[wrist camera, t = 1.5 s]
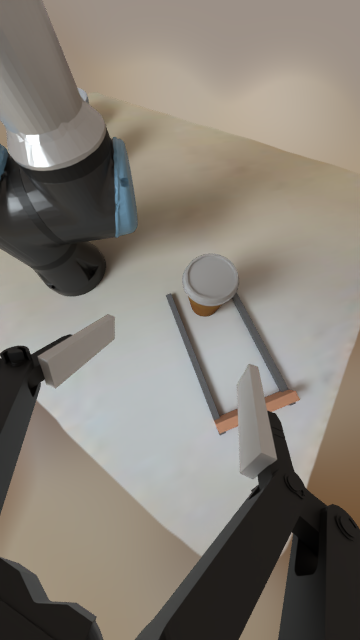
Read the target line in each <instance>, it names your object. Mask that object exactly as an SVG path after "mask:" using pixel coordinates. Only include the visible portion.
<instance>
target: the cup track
mask: <svg viewBox="0 0 360 640" xmlns="http://www.w3.org/2000/svg"><path fill="white" fill-rule="evenodd" d="M166 297H167V299H168V302H169V305H170V307H171V310H172V312H173V315H174V318H175V320H176V323H177V325H178V328H179V331H180V333H181V336H182V338H183V341H184V344H185V346H186V349H187V351H188V354H189V357H190V359H191V362H192V364H193V367H194V370H195V372H196V375H197V377H198V380H199V383H200V385H201V388H202V390H203V393H204V396H205V398H206V401H207V403H208V406H209V409H210V411H211V414H212V416H213V419H214V422H215V424H216V427H217V430H218V432H219V434H220V435H222V434H224V433H226V432H225V431H227V430H230V429H232V428H234V427H237V426H238V409H236V410H234V411H231V412H229V413H226V414H224V415H222V416H219V414H218V411H217V409H216V406H215V404H214V401H213V399H212V396H211V394H210V391H209V389H208V386H207V384H206V381H205V379H204V376H203V373H202V371H201V368H200V366H199V363H198V361H197V358H196V356H195V353H194V351H193V348H192V346H191V343H190V341H189V338H188V336H187V333H186V331H185V328H184V325H183V323H182V320H181V318H180V315H179V313H178V310H177V308H176V305H175V303H174V300H173V298H172V295H171V293H170V294H168V295H166ZM232 299H233V301H234V303H235V305H236V307H237V309H238V311H239V313H240V315H241V317H242V319H243V321H244V323H245V324H246V326H247V328H248V330H249V332H250V334H251V336H252V338H253V340H254V342H255V344H256V346H257V348H258V350H259V351H260V353H261V355H262V357H263V359H264V361H265V363H266V365H267V367H268V369H269V371H270V373H271V375H272V376H273V378H274V380H275V382H276V384H277V386H278V388H279V390H280V391H279V392H277V393H275V394H272V395H270V396H267V397H265V403H266V408H267V411H270V412H272V411H275V410H277V409H279V408H282V407H284V406H286V405H290V406H291V405H293V404H295V403H296V401H298V400H300V399H299V397H298V395H297V393H296V391H293V390H289V389H288V387H287V385H286V384H285V382H284V380H283V378H282V376H281V374H280V372H279V371H278V369H277V367H276V365H275V363H274V361H273V359H272V357H271V356H270V354H269V352H268V350H267V348H266V346H265V344H264V343H263V341H262V339H261V337H260V335H259V333H258V331H257V330H256V328H255V326H254V324H253V322H252V320H251V318H250V316H249V315H248V313H247V311H246V309H245V307H244V305H243V303H242V302H241V300H240V298H239V296H238V294H237V292H236V293H235V295H234V296H233V297H232Z"/></svg>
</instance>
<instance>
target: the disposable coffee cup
mask: <svg viewBox="0 0 360 640" xmlns="http://www.w3.org/2000/svg"><path fill="white" fill-rule="evenodd" d="M182 283H183V288H184V290H185V292H186V294H187V295H188V297H189V300H190V304H191V307H192V309H193V311H194V312H195V313H196V314H197V315H200V316H210V315H212V314H213V313H215V311H216V310H217V309H218V308H219V307H220V306H221V305H222V304H224V303H225V302H227V301H229V300H230V299H231V298H232V297H233V296H234V295H235V293H236V291H237V289H238V285H239V278H238V273H237V270H236V267H235V266H234V264H233V263H232V262H231V261H230V260H229V259H227V258H226V257H223V256H221V255H218V254H204V255H201V256H198V257H196V258H195V259H194V260H192V261H191V262H190V264H189V265H188V266H187V268H186V269H185V271H184V273H183V278H182Z"/></svg>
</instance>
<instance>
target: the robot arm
mask: <svg viewBox="0 0 360 640" xmlns="http://www.w3.org/2000/svg"><path fill="white" fill-rule="evenodd" d="M0 120H1V122H2V123H3V124H4V126H5V128H6V131H7V143H8V151H9V153H10V154H9V153H8V152H7V149H6V148H5V147H4V146H2V145H1V144H0V249H2V250H4V251H5V252H7V253H8V254H10V255H12V256H13V257H15V258H17V259H18V260H20V261H21V262H23V263H25V264H26V265H28V266H30V267H31V268H33V269H34V271H35V272H36V273H37V274H38V275H39V277H40V278H41V279H42V280H43V281H44V283H45V284H46V285H47V286H48V287H49V288H50V289H52V290H54V291H55V292H57V293H59V294H61V295H64V296H78V295H82V294H84V293H87V292H89V291H90V290H92V289H93V288H94V287H95V286H96V285H97V284H98V283H99V282H100V281H101V279H102V277H103V275H104V273H105V268H106V263H105V259H104V257H103V255H102V254H101V252H100V251H99V250H98V249H97V248H96V247H95V246H94V245H93V244H91V243H90V242H88V241H93V240H99V239H106V238H113V237H116V238H117V237H119V236H121V235H125V234H130V233H132V232H134V231H135V230H136V228H137V225H138V219H137V209H136V202H135V195H134V188H133V182H132V176H131V170H130V165H129V160H128V155H127V151H126V148H125V144H124V142H123V141H122V140H121V139H117V138H116V137H113V139H112V140H111V138H110V136H109V133H108V131H107V128H106V125H105V122H104V120H103V118H102V116H101V114H100V113H99V112H98V111H97V110H95V109H94V108H93V107H92V106H90V105H89V104H88V103H87V102H85V101H84V100H83V98H82V97H81V96H80V93H79V91H78V88H77V86H76V83H75V81H74V78H73V76H72V73H71V71H70V68H69V66H68V63H67V61H66V59H65V56H64V54H63V51H62V48H61V46H60V43H59V41H58V38H57V36H56V33H55V31H54V29H53V26H52V23H51V21H50V18H49V16H48V13H47V11H46V8H45V6H44V3H43V1H42V0H0ZM10 155H11V156H10ZM114 339H115V317H114V316H111V315H106V316H104V317H102V318H101V319H99V320H97V321H96V322H94V323H92V324H91V325H89V326H87V327H86V328H84V329H82V330H81V331H79V332H77V333H76V334H74V335H71V334H70V335H66V336H63V337H61V338H59V339H58V340H56V341H54V342H52V343H51V344H49V345H47V346H45V347H44V348H42V349H40V350H38V351H36V352H35V353H33V354H30V351H29V349H28V348H27V347H25V346H14V347H11V348H8V349H6V350H4V351H2V352H1V353H0V356H1V358H0V513H1V510H2V507H3V504H4V500H5V498H6V494H7V491H8V488H9V485H10V481H11V479H12V475H13V472H14V469H15V466H16V463H17V459H18V456H19V453H20V450H21V447H22V444H23V441H24V437H25V434H26V431H27V427H28V425H29V422H30V418H31V415H32V412H33V408H34V406H35V402H36V399H37V396H38V393H39V390H40V387H41V383H40V382H42V381H43V380H44V379H45V382H46V385H48V386H50V387H53V388H55V389H56V388H57V387H58V386H59V385H60V384H62V383H63V382H64V381H65V380H66V379H68V378H69V377H70V376H71V375H72V374H73V373H75V372H76V371H77V370H78V369H79V368H81V367H82V366H83V365H84V364H85V363H87V362H88V361H89V360H90V359H91V358H92V357H94V356H95V355H96V354H97V353H98V352H100V351H101V350H102V349H103V348H104V347H106V346H107V345H108V344H109V343H110V342H112V341H113V340H114ZM237 402H238V431H239V460H240V474H243V475H245V476H247V477H249V478H251V479H254V478H255V477H257V476H258V482H259V485H257V486H256V487H255V488H254V489H252V490H251V491H252V493H251V494H250V495H249V497H248V498H247V499H246V501H245V502H244V503H243V504H242V506H241V507H240V508H239V510H238V511H237V512H236V513H235V515H234V516H233V517H232V519H231V520H230V521H229V522H228V524H227V525H226V526H225V528H224V529H223V530H222V532H221V533H220V534H219V535H218V537H217V538H216V539H215V541H214V542H213V543H212V544H211V546H210V547H209V548H208V550H207V551H206V552H205V553H204V555H203V556H202V557H201V559H200V560H199V561H198V562H197V564H196V565H195V566H194V568H193V569H192V570H191V571H190V573H189V574H188V575H187V577H186V578H185V579H184V580H183V582H182V583H181V584H180V586H179V587H178V588H177V589H176V591H175V592H174V593H173V595H172V596H171V597H170V599H169V600H168V601H167V602H166V604H165V605H164V606H163V607H162V609H161V610H160V611H159V613H158V614H157V615H156V616H155V618H154V619H153V620H152V621H151V622H150V623H149V624H148V625H147V626H146V627H145V628H144V629H143V630H142V631H141V633H140V634H139V635H138V636H137V638H136V639H135V640H239V638H240V635H241V634H242V632H243V630H244V628H245V625H246V623H247V621H248V619H249V617H250V615H251V613H252V611H253V609H254V607H255V605H256V603H257V601H258V599H259V597H260V595H261V593H262V591H263V589H264V587H265V584H266V583H267V581H268V579H269V577H270V575H271V573H272V571H273V569H274V567H275V565H276V563H277V561H278V559H279V556H280V554H281V552H282V550H283V548H284V546H285V544H286V542H287V540H288V538H289V536H290V534H291V532H292V533H293V540H292V547H291V554H290V561H289V568H288V575H287V582H286V589H285V596H284V603H283V610H282V617H281V624H280V631H279V638H278V640H360V529H359V528H358V526H357V524H356V523H355V522H354V520H353V519H352V518H351V517H350V516H349V514H348V513H347V512H346V511H345V510H343V509H342V508H340V507H339V506H337V505H334V504H332V505H329V506H327V505H325V504H324V503H323V502H322V501H320V500H319V499H318V498H316V497H315V496H314V495H313V494H311V493H310V492H309V491H308V490H307V489H306V488H305V486H304V484H303V482H302V480H301V479H300V478H299V476H298V475H297V474H296V473H295V472H294V469H293V466H292V462H291V458H290V454H289V451H288V447H287V443H286V440H285V436H284V433H283V428H282V425H281V422H280V420H279V418H278V417H277V415H276V414H275V413H272V412H270V411H267V408H266V403H265V398H264V393H263V388H262V384H261V379H260V374H259V369H258V367H257V366H254V365H251V364H249V365H248V366H247V368H246V370H245V372H244V373H243V375H242V377H241V378H240V380H239V382H238V384H237ZM95 620H96V616H95V615H93V614H92V613H90V612H89V611H88V610H86V609H85V608H83V607H82V606H80V605H79V604H77V603H69V602H52V601H50V600H49V599H48V597H47V595H46V593H45V591H44V589H43V587H42V585H41V583H40V581H39V579H38V577H37V576H36V575H35V574H34V573H32V572H31V571H29V570H28V569H26V568H25V567H23V566H22V565H20V564H19V563H16V562H13V561H10V560H7V559H4V558H1V557H0V640H103V637H102V634H101V631H100V629H99V627H98V625H97V623H96V621H95Z"/></svg>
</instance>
